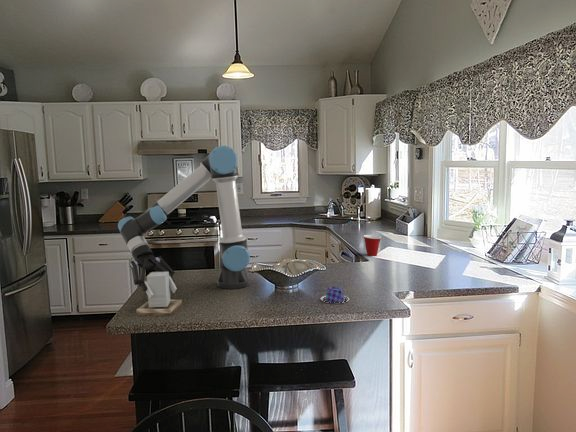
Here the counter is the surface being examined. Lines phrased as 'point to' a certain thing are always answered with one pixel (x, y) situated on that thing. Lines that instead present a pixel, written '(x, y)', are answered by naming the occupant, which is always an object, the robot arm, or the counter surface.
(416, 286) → the counter surface
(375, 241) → the plastic cup
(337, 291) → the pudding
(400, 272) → the counter surface
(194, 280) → the counter surface
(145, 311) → the square wooden tray
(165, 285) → the supplement box
